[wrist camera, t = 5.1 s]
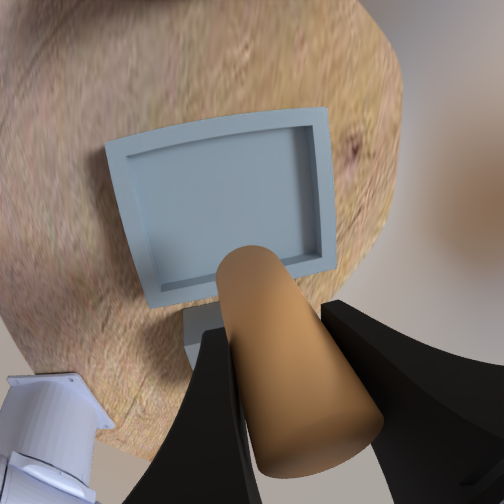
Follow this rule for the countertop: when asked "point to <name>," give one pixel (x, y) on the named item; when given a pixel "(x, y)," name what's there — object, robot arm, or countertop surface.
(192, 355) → the pin cup
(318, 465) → the orange pin
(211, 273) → the tray
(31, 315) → the countertop surface
